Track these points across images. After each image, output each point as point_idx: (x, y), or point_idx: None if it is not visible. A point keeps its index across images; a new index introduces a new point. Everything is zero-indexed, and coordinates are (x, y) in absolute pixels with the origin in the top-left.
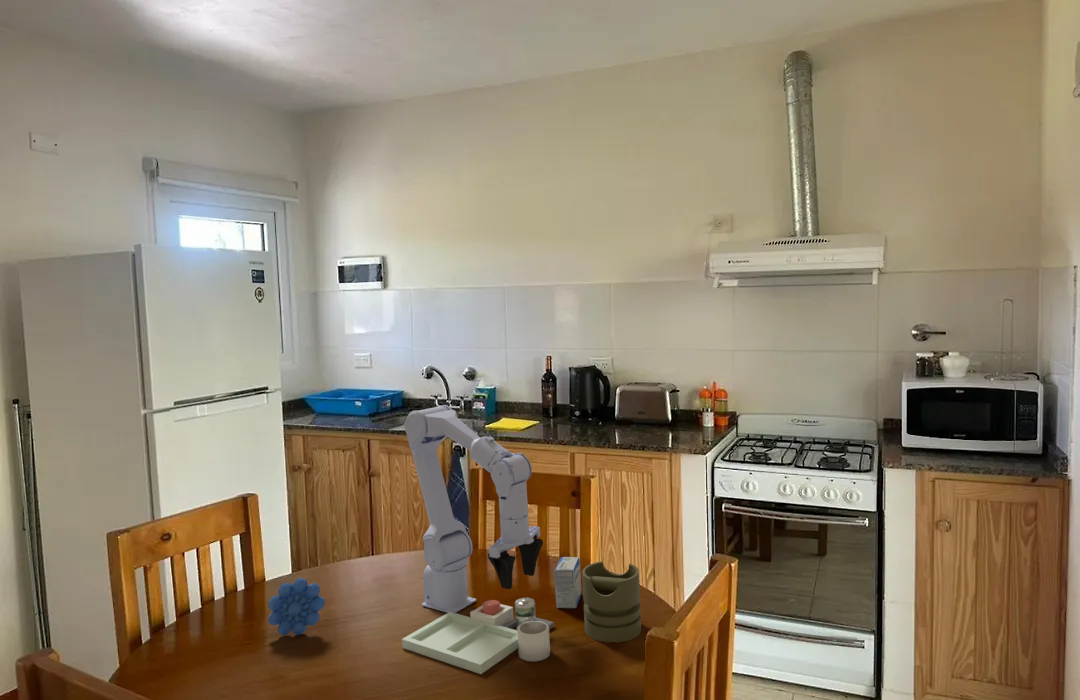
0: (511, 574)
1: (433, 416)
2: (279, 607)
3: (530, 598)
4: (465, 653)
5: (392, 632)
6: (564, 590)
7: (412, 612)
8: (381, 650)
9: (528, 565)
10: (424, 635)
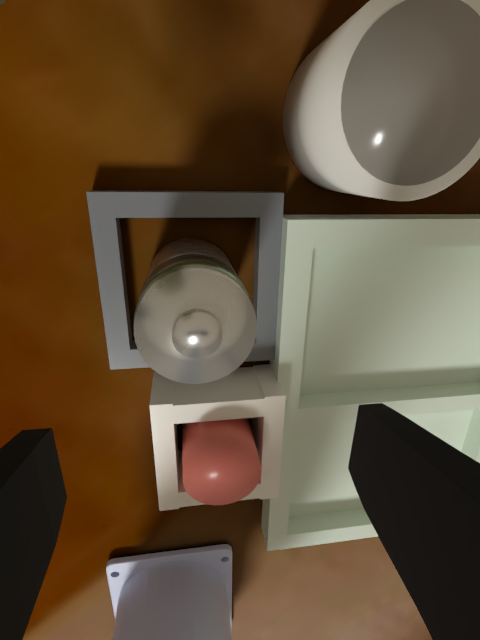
0: (475, 483)
1: None
2: None
3: (138, 331)
4: (456, 341)
5: (386, 571)
6: None
7: (271, 615)
8: None
9: (16, 546)
10: None
